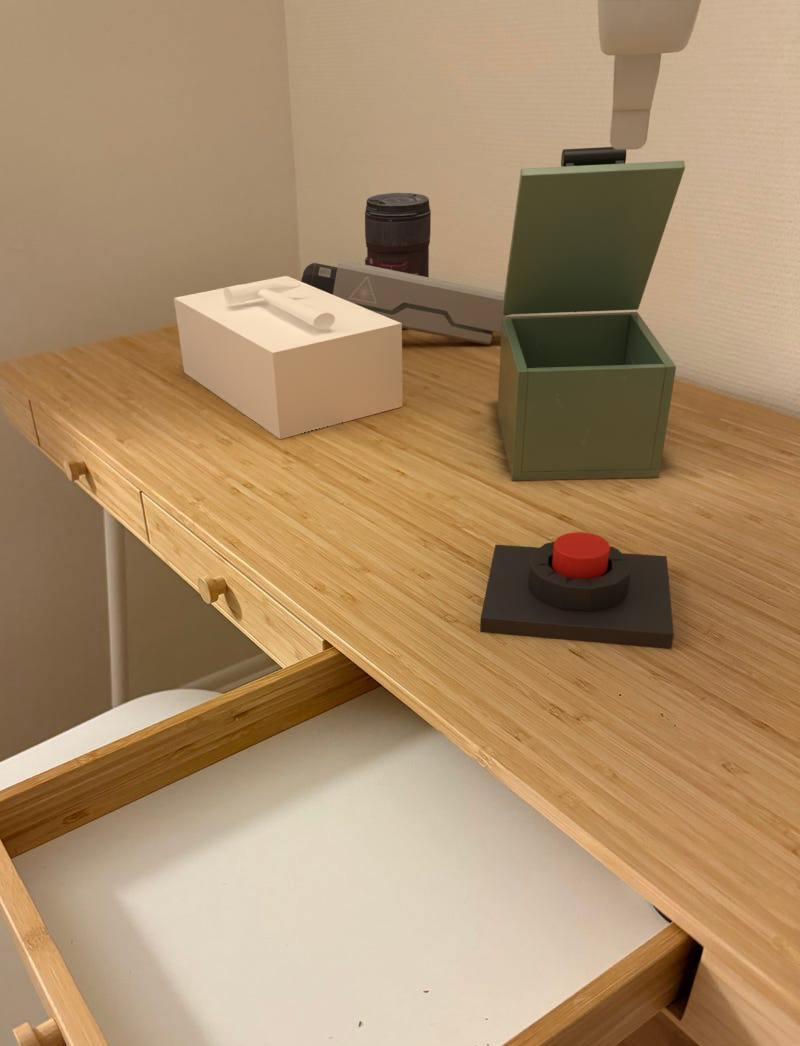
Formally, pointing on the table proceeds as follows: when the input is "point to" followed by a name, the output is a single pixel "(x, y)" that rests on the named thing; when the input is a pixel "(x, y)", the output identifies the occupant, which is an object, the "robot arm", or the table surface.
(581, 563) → the button
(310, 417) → the white rectangular box
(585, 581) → the button box
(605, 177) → the box lid
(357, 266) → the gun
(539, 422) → the green box
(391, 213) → the camera lens
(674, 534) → the table surface
